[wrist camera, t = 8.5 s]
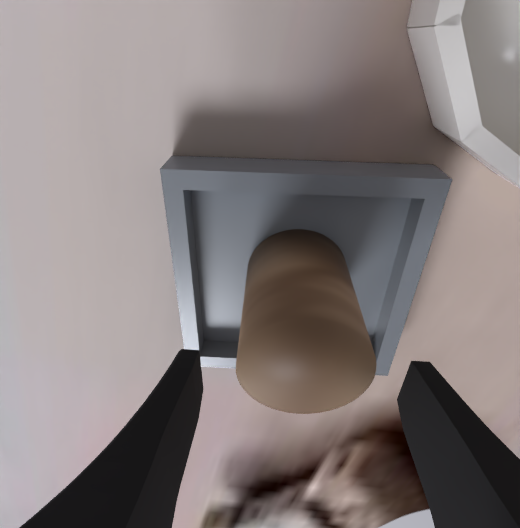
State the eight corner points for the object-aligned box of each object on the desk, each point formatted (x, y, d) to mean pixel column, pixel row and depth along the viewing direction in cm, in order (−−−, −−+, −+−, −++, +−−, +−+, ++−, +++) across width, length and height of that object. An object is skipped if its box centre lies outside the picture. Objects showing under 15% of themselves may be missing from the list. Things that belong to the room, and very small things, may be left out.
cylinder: (355, 233, 16) (393, 324, 11) (336, 314, 18) (359, 418, 13) (249, 225, 16) (237, 313, 11) (245, 307, 18) (233, 409, 13)
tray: (434, 164, 15) (452, 179, 13) (379, 350, 21) (387, 375, 19) (171, 155, 15) (160, 168, 13) (193, 342, 21) (186, 366, 19)
